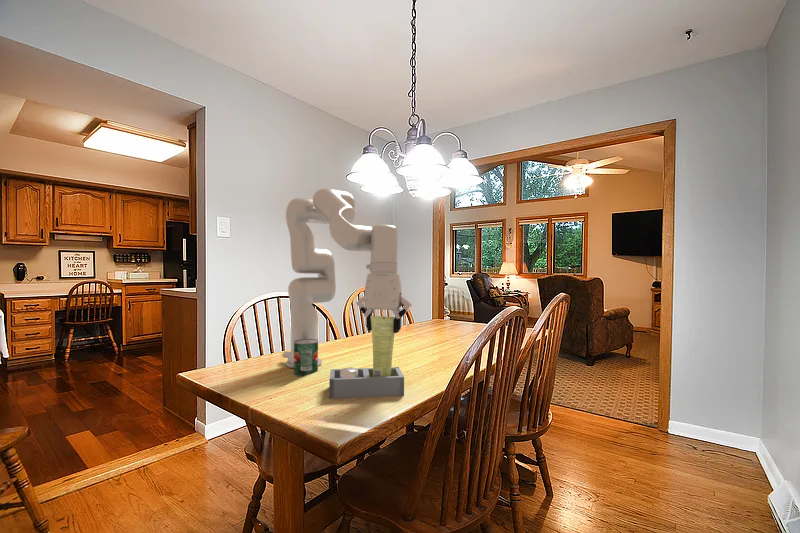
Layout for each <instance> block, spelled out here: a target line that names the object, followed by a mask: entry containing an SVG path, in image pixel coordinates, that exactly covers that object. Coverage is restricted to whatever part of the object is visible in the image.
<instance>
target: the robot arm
mask: <svg viewBox="0 0 800 533" xmlns="http://www.w3.org/2000/svg"><path fill="white" fill-rule="evenodd" d="M355 207H356V203H355V199H354V196H353V195H352V194H351V193H349V192H348V191H346V190H345V191H344V190H339V189H333V188H326V187H325V188H320V189H318V190H316V191H315V192H314V194H313V196H312V198H309V197H298V198H297V197H295V198H293V199H291V200H290V201H289V202H288V204H287V205H286V210H285V221H286V222H285V223H286V225H287V228H288V232H289V239H290V258H291V262H290V263H291V268H292V270H293V272H295V273H297V274H301V275H302V274H305V275H308V274H309V275H310V274H311V275H314V274H315V275H317V277H314V276H313V277H311V276H308V277H306V276H305V277H298V278H294V279H293V280H291V281H290V283H289V285H288V287H287V292H288V298H289V305H290V351H287V350H284V351H283V353H282V354H281V355H282V358H285V359H287V360H286V362H285V363H286V364H285V365H286V367H287V368H290V369H294V341H295V340H299V339H316V340H318V339H319V338H318V337H319V328H318V327H319V317H318V316H319V315H318V312H317V310H316V309H315V307H314V305H313V304H317V303H318V304H319V303H320V304H321V303H329V302H331V301H332V300H333V299H335V296H336V290H337V288H336V287H337V285H336V266H335V258H334V255H333V254H332V252H331V251H330V250H329V249H327V248H326V249H325V248H316V246H315V235H314V234H313V231H312V229H311V228H310V226H309V225H308V224H307V223H309V224H310V223H311V224H320V225H321V224H323V225H328V226H329V233H330V236H331V238H332V239H333V241H335V243H337V245H338V246H340V247H341V248H342V249H344V250H347V251H351V252H367V253H368V252H370V262H369V264H366V270H369V272H370V273H367V275H366V279H365V284H364V285H365V287H364V295H363V296H362V297H361V298H360V299H358V300H357V301H356V306H358V308H359V309H360V311H361V312H362V313H363V315H364V317H365V327H366V332H372V327H371V319H370V316H373V313H374V312H375V310H386V311H387V310H388V311H392V314H393V316H394V317H395V319H394V325H393V332H394V334H397V333H399V332H400V330H401V329H402V318H403V317H404V315H406V314H407V312H408V311H409V310H410V308H411V307H412V305H413V304H412V303H411V302H410V301H409V300H407V299H406V297H404V296H403V292H402V282H401V276H400V274H399V273H398V229H397V226H395V225H391V224H378V225H377V224H376V225H374V226H371V225H370V226H368V225H361V224H360V225H359V224H352V223H353V221H354V219H355V215H356V213H355ZM402 305H404V306H403V308H402V309H400V308H401V307H402ZM318 341H319V340H318ZM322 364H323V361H322V359H321V358H319V357H318V367H319V366H321V365H322Z"/></svg>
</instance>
